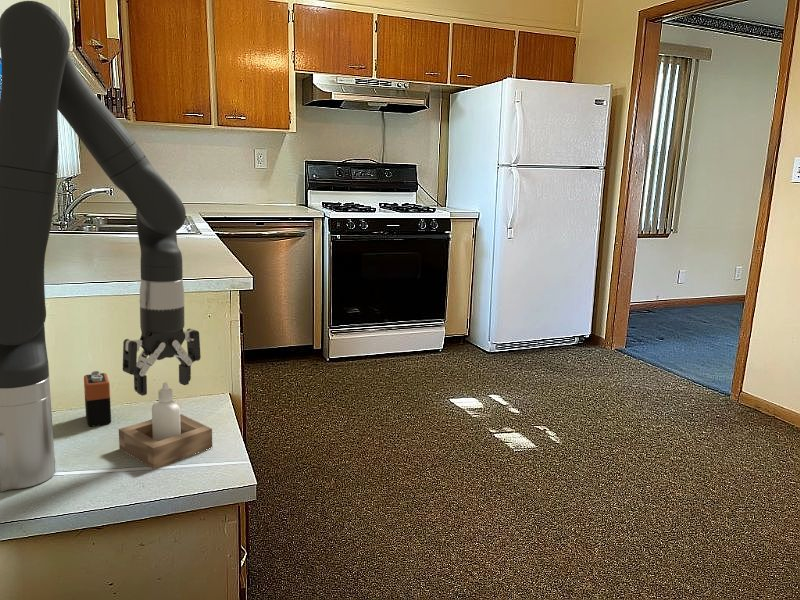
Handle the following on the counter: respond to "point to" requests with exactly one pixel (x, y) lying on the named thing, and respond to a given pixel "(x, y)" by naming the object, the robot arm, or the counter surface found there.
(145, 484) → the counter surface
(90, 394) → the battery
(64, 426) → the counter surface
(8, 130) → the robot arm
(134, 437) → the walnut open box
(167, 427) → the eye dropper bottle
